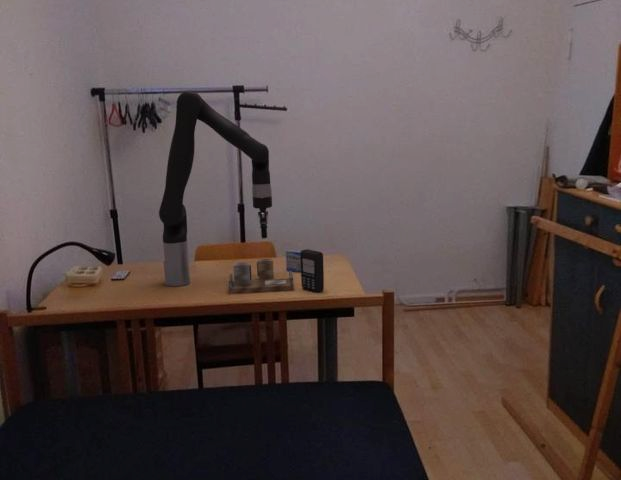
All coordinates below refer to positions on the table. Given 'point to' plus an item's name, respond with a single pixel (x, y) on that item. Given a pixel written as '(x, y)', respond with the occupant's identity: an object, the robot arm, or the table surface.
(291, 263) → the medicine box
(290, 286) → the rail
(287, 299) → the table surface
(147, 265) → the table surface
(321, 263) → the card reader
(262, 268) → the finger block
